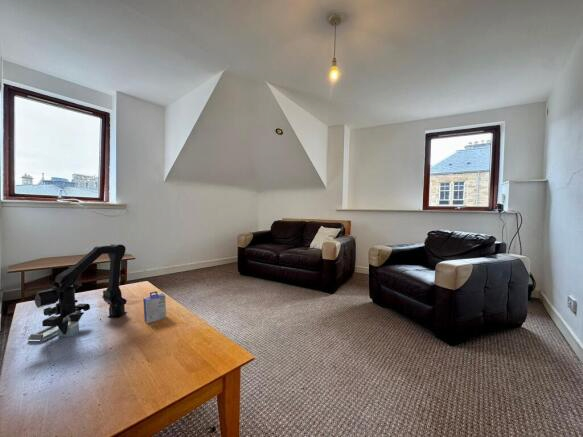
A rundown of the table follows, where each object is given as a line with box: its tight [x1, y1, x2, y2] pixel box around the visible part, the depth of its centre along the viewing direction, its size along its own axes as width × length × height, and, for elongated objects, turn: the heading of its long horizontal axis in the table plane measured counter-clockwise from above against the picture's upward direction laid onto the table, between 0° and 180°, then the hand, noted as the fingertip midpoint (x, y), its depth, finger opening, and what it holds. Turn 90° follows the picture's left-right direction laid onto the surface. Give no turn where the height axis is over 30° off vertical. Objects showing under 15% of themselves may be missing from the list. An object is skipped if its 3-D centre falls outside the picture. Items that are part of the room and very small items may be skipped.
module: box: [58, 321, 80, 337], centre depth 118 cm, size 4×6×5 cm
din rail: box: [27, 316, 71, 342], centre depth 119 cm, size 8×17×6 cm, turn 178°
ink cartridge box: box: [142, 291, 167, 324], centre depth 132 cm, size 10×6×14 cm, turn 134°
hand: (68, 331), depth 118 cm, fingers closed on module, 4 cm apart
